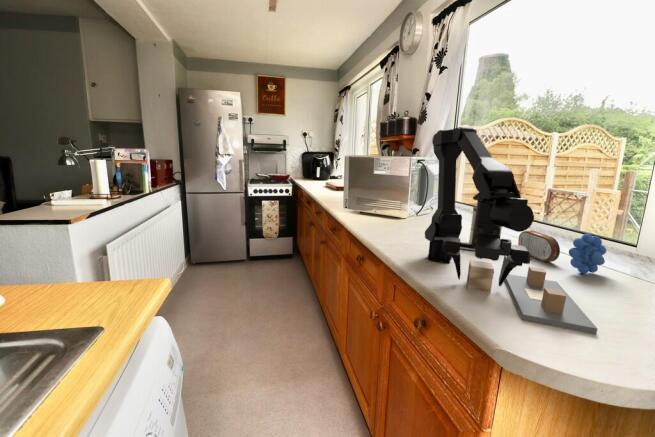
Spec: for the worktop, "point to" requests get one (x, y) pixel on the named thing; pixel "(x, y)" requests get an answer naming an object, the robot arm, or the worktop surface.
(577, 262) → the grapes
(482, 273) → the maple block
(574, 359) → the worktop surface
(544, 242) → the tin
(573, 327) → the board
